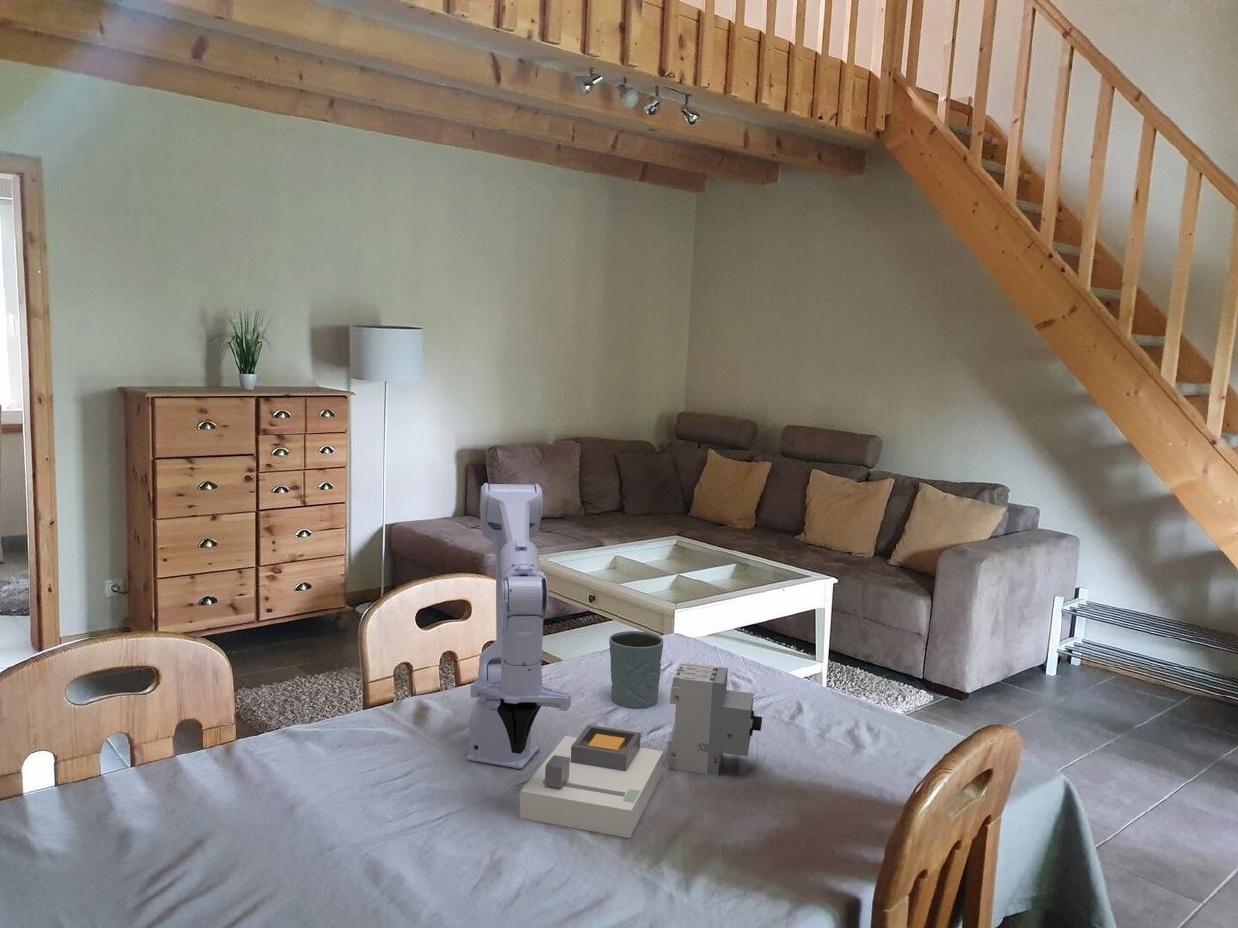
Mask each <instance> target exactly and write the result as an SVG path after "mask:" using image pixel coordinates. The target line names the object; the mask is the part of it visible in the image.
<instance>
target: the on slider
mask: <svg viewBox="0 0 1238 928" xmlns="http://www.w3.org/2000/svg"><path fill="white" fill-rule="evenodd" d="M569 765H570V757H564V756H558V755H554V756H553V757H552V758H551V759H550V760H549V762H548V763H547V764H546V769H545V786H551V787H557V788H562V786H563V785H564V783H565V782H566V781H567V779H568V778H569Z"/></svg>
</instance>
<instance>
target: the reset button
mask: <svg viewBox="0 0 1238 928" xmlns="http://www.w3.org/2000/svg"><path fill="white" fill-rule="evenodd" d="M588 747H593V748H600V749H606V750H612V751H619V752H623V751H624V748H625V738H620V737H614V736H608V735H601V734H596V735H595V736H594V738H593V739H592V740H591V742H590V743H589V745H588Z"/></svg>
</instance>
